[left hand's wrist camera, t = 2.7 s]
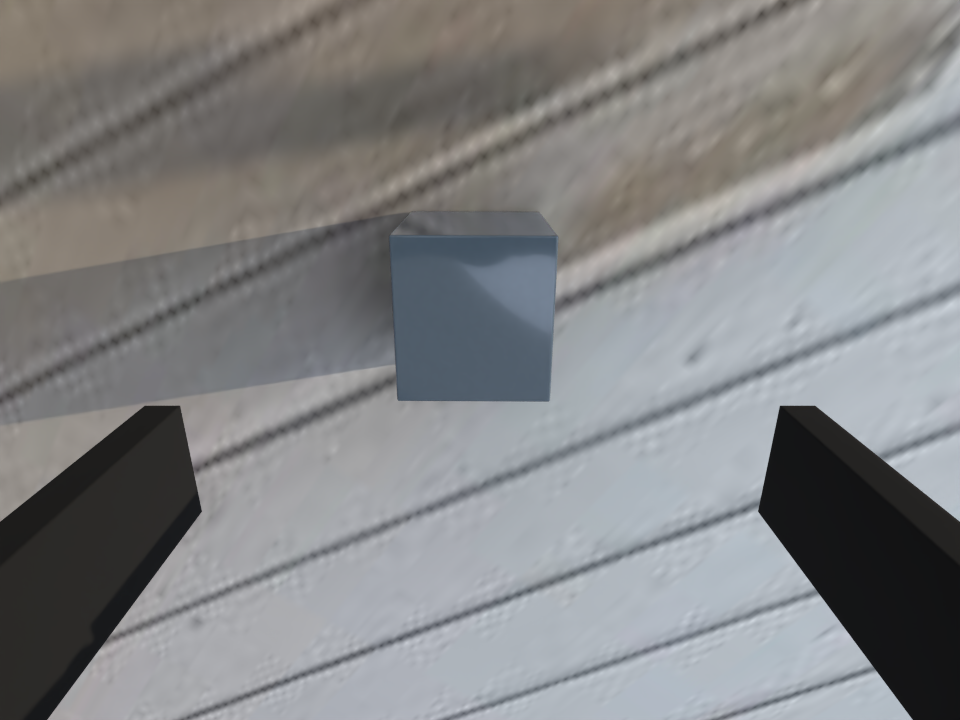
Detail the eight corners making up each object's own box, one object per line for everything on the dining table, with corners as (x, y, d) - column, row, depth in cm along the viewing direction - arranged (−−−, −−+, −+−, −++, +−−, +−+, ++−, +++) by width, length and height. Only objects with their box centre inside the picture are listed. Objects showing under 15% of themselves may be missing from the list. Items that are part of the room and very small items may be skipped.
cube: (534, 343, 30) (549, 402, 23) (415, 342, 30) (397, 401, 23) (540, 211, 27) (558, 235, 21) (411, 211, 27) (388, 234, 21)
